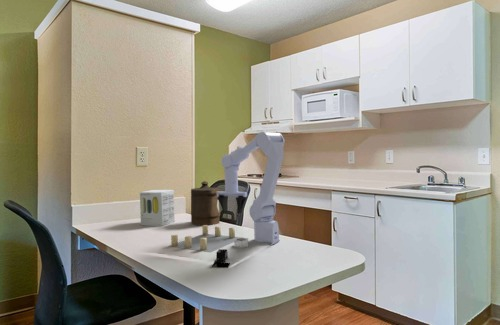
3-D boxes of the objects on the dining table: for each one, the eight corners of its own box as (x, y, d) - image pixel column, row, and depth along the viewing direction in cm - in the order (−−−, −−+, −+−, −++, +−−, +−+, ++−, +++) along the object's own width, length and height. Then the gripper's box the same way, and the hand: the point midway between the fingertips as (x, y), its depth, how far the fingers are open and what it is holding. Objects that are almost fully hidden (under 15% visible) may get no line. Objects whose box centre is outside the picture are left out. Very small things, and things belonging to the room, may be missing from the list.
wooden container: (225, 222, 185) (224, 180, 185) (202, 226, 175) (201, 182, 174) (208, 219, 196) (207, 180, 195) (185, 223, 186) (184, 181, 185)
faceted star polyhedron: (251, 248, 132) (251, 238, 132) (244, 251, 128) (243, 241, 128) (239, 246, 135) (238, 237, 135) (231, 249, 131) (231, 240, 131)
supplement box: (139, 225, 182) (138, 192, 182) (153, 220, 195) (153, 189, 195) (162, 226, 179) (161, 192, 178) (175, 221, 191) (174, 189, 191)
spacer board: (243, 239, 145) (243, 227, 145) (210, 255, 124) (210, 240, 124) (204, 235, 154) (204, 224, 154) (167, 249, 133) (166, 236, 133)
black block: (216, 259, 121) (215, 245, 121) (237, 259, 120) (236, 245, 120) (206, 270, 108) (206, 256, 108) (230, 271, 107) (229, 256, 107)
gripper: (212, 182, 154) (213, 213, 154) (241, 182, 147) (242, 215, 147) (221, 181, 160) (222, 210, 160) (249, 181, 153) (249, 212, 153)
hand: (232, 212), depth 154 cm, fingers open, 7 cm apart
